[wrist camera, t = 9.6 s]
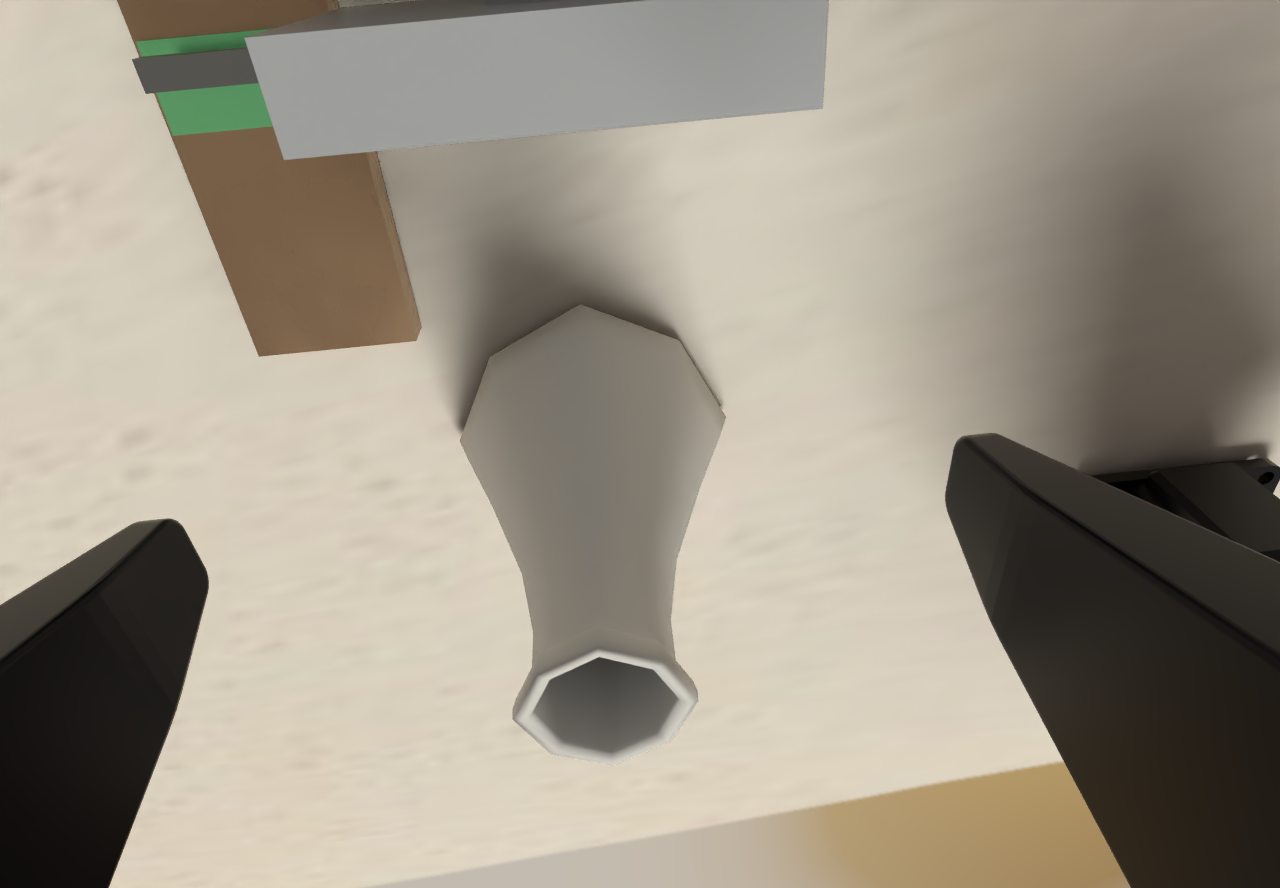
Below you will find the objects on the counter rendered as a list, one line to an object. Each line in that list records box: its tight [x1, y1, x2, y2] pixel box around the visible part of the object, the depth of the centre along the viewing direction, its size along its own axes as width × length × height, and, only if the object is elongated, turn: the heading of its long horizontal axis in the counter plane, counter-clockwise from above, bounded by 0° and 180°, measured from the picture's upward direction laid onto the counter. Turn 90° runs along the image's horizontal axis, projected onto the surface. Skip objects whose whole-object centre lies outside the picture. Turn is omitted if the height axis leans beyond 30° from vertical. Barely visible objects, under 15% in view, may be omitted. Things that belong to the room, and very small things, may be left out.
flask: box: [460, 304, 726, 766], centre depth 18 cm, size 7×7×10 cm
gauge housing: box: [117, 0, 422, 356], centre depth 14 cm, size 14×13×6 cm
